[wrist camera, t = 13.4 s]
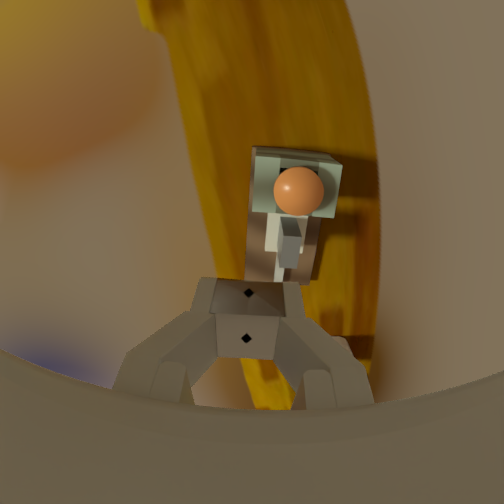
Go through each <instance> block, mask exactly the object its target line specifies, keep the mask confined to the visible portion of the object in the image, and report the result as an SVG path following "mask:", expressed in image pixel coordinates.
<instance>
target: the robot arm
mask: <svg viewBox="0 0 504 504" xmlns="http://www.w3.org/2000/svg"><path fill="white" fill-rule="evenodd" d="M245 356H246V358H252V359H268V360H273V361H274V363H275V364H276V366H277V367H278V369H279V370H280V371H281V373H282V374H283V376H284V377H285V378H286V380H287V381H288V382H289V384H290V385H291V387H292V388H293V389H294V391H295V392H296V396H295V399H294V402H293V404H292V407H291V410H247V409H231V408H230V409H229V408H218V407H208V406H199V405H195V404H194V399H193V395H192V391H191V387H192V386H193V385H194V384H195V383H196V382H197V381H198V379H199V378H200V377H201V376H202V375H203V374H204V373H205V372H206V370H207V369H208V368H209V367H210V366H211V365H212V364H213V363H214V362H215V361H216V359H217V357H232V358H245ZM0 504H504V371H501V372H499V373H496V374H493V375H491V376H488V377H485V378H482V379H479V380H477V381H473V382H470V383H467V384H464V385H460V386H457V387H453V388H449V389H446V390H442V391H438V392H434V393H430V394H425V395H421V396H417V397H411V398H406V399H401V400H396V401H390V402H384V403H377V404H375V403H374V399H373V396H372V392H371V388H370V385H369V381H368V377H367V374H366V370H365V367H364V366H363V365H362V364H361V363H360V362H359V361H358V360H357V359H356V358H354V357H353V356H352V355H351V354H350V353H349V352H348V351H347V350H345V349H344V348H343V347H342V346H341V345H340V344H339V343H338V342H336V341H335V340H334V339H333V338H332V337H331V336H330V335H329V334H328V333H326V332H325V331H324V330H323V329H322V328H321V327H320V326H319V325H318V324H316V323H315V322H314V321H313V320H312V319H311V318H306V317H305V312H304V306H303V301H302V295H301V290H300V284H299V283H298V282H265V281H250V280H237V279H224V278H210V277H201V278H200V279H199V282H198V285H197V289H196V292H195V296H194V299H193V302H192V306H191V309H190V312H189V311H185V312H183V313H182V314H180V315H179V316H178V317H176V318H175V319H173V320H172V321H171V322H169V323H168V324H166V325H165V326H164V327H162V328H161V329H159V330H158V331H157V332H155V333H154V334H152V335H151V336H150V337H148V338H147V339H146V340H144V341H143V342H141V343H140V344H138V345H137V346H136V347H134V348H133V349H131V350H130V351H129V352H127V353H126V356H125V358H124V360H123V363H122V365H121V367H120V370H119V373H118V375H117V377H116V380H115V383H114V385H113V388H112V389H108V388H104V387H101V386H97V385H94V384H90V383H87V382H83V381H80V380H77V379H74V378H71V377H68V376H65V375H62V374H59V373H56V372H54V371H51V370H48V369H45V368H43V367H40V366H38V365H35V364H33V363H30V362H28V361H26V360H23V359H21V358H19V357H17V356H14V355H12V354H10V353H8V352H6V351H4V350H2V349H0Z"/></svg>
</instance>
